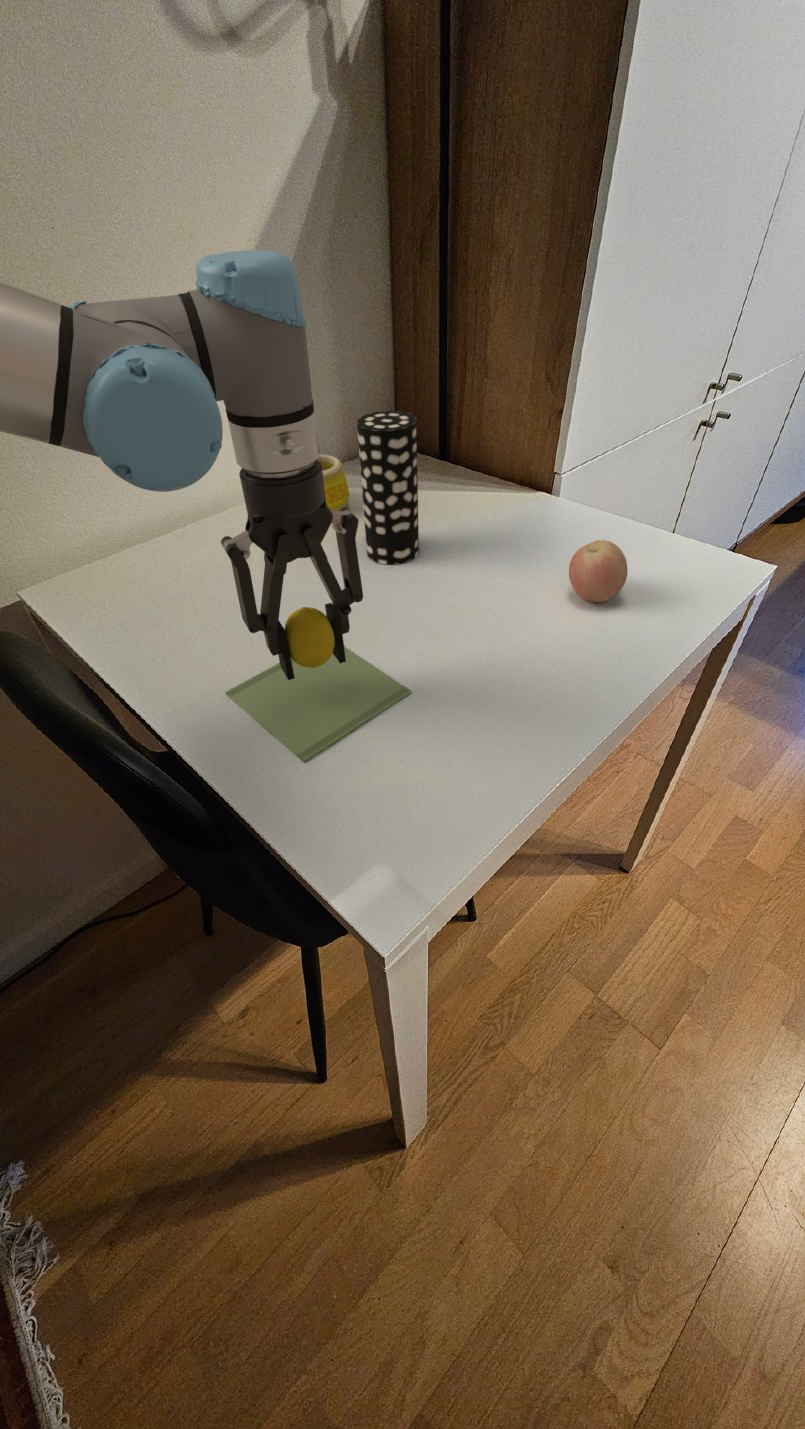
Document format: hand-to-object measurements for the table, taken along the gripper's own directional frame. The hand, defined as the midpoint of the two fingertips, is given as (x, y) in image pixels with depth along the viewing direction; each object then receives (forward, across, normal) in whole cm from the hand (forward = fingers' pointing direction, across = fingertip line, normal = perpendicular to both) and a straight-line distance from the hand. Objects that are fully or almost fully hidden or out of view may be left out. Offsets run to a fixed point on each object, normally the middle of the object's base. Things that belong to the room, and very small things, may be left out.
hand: (313, 664), depth 73 cm
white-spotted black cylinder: (+5, +23, +27) cm, 36 cm away
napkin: (+5, 0, 0) cm, 5 cm away
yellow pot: (+5, +19, +49) cm, 53 cm away
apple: (+5, +42, +1) cm, 42 cm away
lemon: (+1, 0, 0) cm, 1 cm away
